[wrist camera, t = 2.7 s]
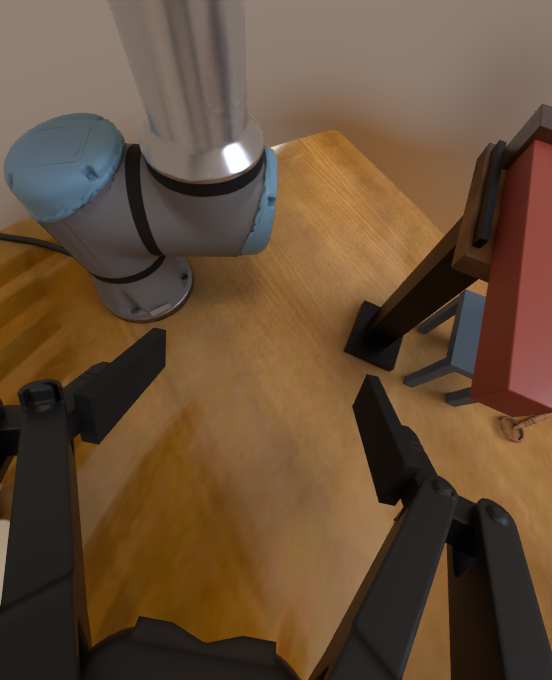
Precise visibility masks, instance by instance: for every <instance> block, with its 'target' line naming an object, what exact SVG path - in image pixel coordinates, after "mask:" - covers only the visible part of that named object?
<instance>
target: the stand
mask: <svg viewBox="0 0 552 680" xmlns="http://www.w3.org/2000/svg"><path fill="white" fill-rule="evenodd" d="M505 150H506V142H504V141H501V140H500V141H499V142H498V143H497V144H496V145H495V144H492V143H489V144H488V146H487V147H486V148H485V150H484V151H483V152H482V153H481V155H480V156H479V158H478V159H477V162H476V166H475V170H474V174H473V179H472V182H471V187H470V191H469V195H468V199H467V203H466V207H465V211H464V215H463V216H462V217H461V219H460V220H459V221H458V222H457V223H456V224H455V225H454V226H453V228H452V229H451V230H450V231H449V232H448V233H447V234H446V235H445V236H444V237H443V239H442V240H441V241H440V242H439V243H438V244H437V245H436V246H435V247H434V249H433V250H432V251H431V252H430V253H429V254H428V255H427V256H426V257H425V259H424V260H423V261H422V262H421V263H420V264H419V265H418V266H417V267H416V269H415V270H414V271H413V272H412V273H411V274H410V275H409V276H408V278H407V279H406V280H405V281H404V282H403V283H402V284H401V285H400V286H399V288H398V289H397V290H396V291H395V292H394V293H393V294H392V295H391V296H390V298H389V299H388V300H387V301H386V302H385V303H384V304H383V305H382V306H381V307H379V306H377V305H375V304H372V303H370V302H368V301H364V302H363V303H362V305H361V307H360V310H359V312H358V315H357V318H356V320H355V323H354V325H353V328H352V331H351V333H350V336H349V338H348V341H347V344H346V346H345V349H344V352H346V353H349V354H351V355H353V356H355V357H358V358H360V359H362V360H364V361H366V362H369V363H371V364H373V365H375V366H378V367H380V368H382V369H384V370H386V371H391V370H393V369H394V365H395V362H396V359H397V355H398V352H399V348H400V345H401V342H402V338H403V335H404V334H406V333H407V332H408V331H410V330H411V329H412V328H414V327H415V326H416V325H418V324H419V323H420V322H422V321H423V320H425V319H426V318H427V317H429V316H430V315H431V314H433V313H434V312H435V311H437V310H438V309H439V308H441V307H442V306H443V305H445V304H446V303H447V302H449V301H450V300H451V299H453V298H454V297H455V296H457V295H458V294H459V293H461V292H462V291H463V290H465V289H466V288H467V287H469V286H470V285H471V284H473V283H474V282H475V281H477V280H478V279H480V280H483V281H485V282H489V276H490V270H491V264H492V258H493V252H494V246H495V240H496V234H497V228H498V222H499V216H500V210H501V204H502V198H503V191H504V185H505V179H506V173H507V170H505V169H502V167H503V161H504V156H505Z"/></svg>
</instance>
